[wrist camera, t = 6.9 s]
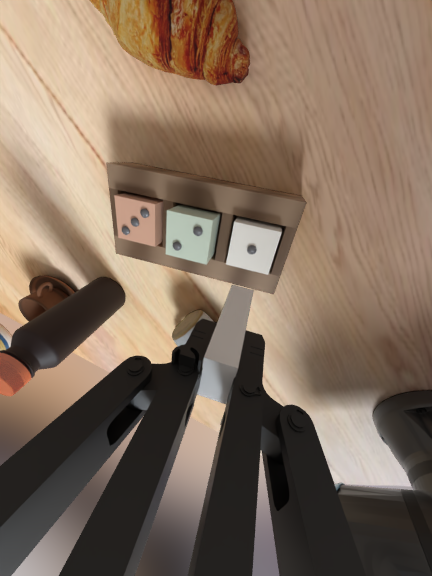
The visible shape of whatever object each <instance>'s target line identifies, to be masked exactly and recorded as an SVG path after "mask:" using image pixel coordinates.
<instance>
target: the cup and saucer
mask: <svg viewBox="0 0 432 576" xmlns="http://www.w3.org/2000/svg"><path fill="white" fill-rule="evenodd" d="M29 289H30V295H28V296H26V297H25V298H23V299H21V300H20V301H19V309H20V311H21V313H22V314H23V316H24V317H25V318H26V319H27V320H28V321H29V322H30V321H31V320H33V319H34V318H36V317H38V316H39V315H41V314H42V313H44V312H45V311H47V310H49V309H50V308H52V307H53V306H55V305H56V304H58V303H60V302H61V301H63V300H64V299H66V298H67V297H69V296H70V295H72V294H74V293H75V292H74V291H73V290H72V289H71V288H70V287H69V286H68V285H67V284H65V283H64V282H62V281H60V280H58V279H56V278H53V277H50V276H37V277H35V278H33V279H32V280H31V282H30V285H29Z"/></svg>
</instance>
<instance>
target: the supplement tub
mask: <svg viewBox="0 0 432 576" xmlns="http://www.w3.org/2000/svg"><path fill="white" fill-rule="evenodd" d="M11 340H12V336H11V334H10V333H9V331H8V330H7V329H6V328H5V327H4V326H3V325H1V324H0V351H1V350H6V349H8V348H9V347H10V346H11Z"/></svg>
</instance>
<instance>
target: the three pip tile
mask: <svg viewBox="0 0 432 576" xmlns="http://www.w3.org/2000/svg"><path fill="white" fill-rule="evenodd" d="M114 198H115V208H116V218H117V229H118V238H122V239H126V240H130V241H134V242H138V243H142V244H146V245H150V246H154V247H156V246H157V245H158V244H160V243H161V242H163V199H158V198H154V197H149V196H144V195H140V194H135V193H131V192H128V193H123V194H118V195H114Z"/></svg>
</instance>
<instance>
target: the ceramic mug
mask: <svg viewBox="0 0 432 576" xmlns="http://www.w3.org/2000/svg"><path fill="white" fill-rule="evenodd" d="M201 319H206V320H210V321H213V320H212V319H211V318H210V317H209V316H208V315H207V314H206V313H205V312H203V311H201V310H196V311H194V312H192V313H190V314H189V315H188V316H186V317H185V318H184V319H183V320H182V321H181V322H180V323H179V324H178V325H177V326H176V328H175V329H174V331H173V334H172V338H173V340H174V341H175V343H176V344H177V346H180V345H184V344H186V342H187V340H188V338H189V336H190V334H191V332H192V330H193V329H194V327H195V325H196V323H197V322H198V321H200V320H201ZM213 322H214V321H213Z"/></svg>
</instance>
